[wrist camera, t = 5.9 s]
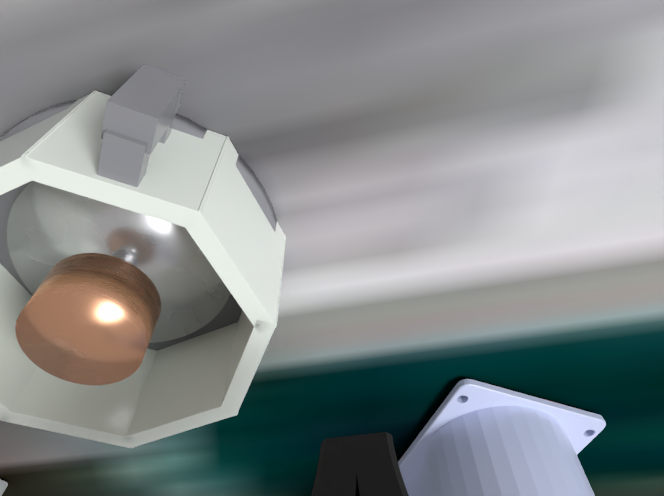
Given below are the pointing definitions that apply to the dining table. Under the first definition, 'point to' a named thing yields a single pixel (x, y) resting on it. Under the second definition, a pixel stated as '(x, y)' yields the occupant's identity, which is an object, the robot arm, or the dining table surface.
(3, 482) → the supplement box
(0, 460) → the dining table surface
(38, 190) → the copper-knobbed silver dome
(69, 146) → the octagonal hollow frame
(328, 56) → the dining table surface
